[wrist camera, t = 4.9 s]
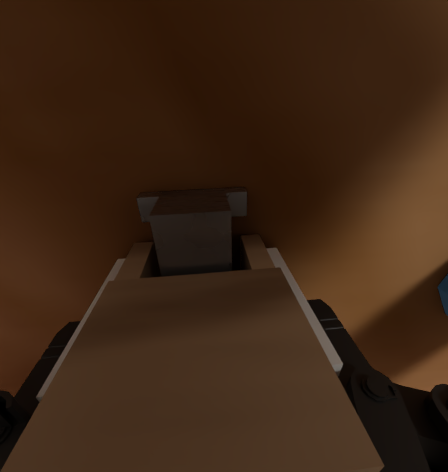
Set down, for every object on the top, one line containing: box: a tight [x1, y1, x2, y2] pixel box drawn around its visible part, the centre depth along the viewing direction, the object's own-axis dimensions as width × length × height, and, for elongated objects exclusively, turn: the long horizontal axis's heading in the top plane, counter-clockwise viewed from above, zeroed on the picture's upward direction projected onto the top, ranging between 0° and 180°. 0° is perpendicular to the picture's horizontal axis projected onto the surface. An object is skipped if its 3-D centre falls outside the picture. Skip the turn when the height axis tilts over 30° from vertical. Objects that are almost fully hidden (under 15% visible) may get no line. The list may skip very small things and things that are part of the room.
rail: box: [136, 187, 247, 277], centre depth 14 cm, size 18×5×3 cm, turn 2°
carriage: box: [0, 234, 384, 472], centre depth 9 cm, size 6×7×10 cm
